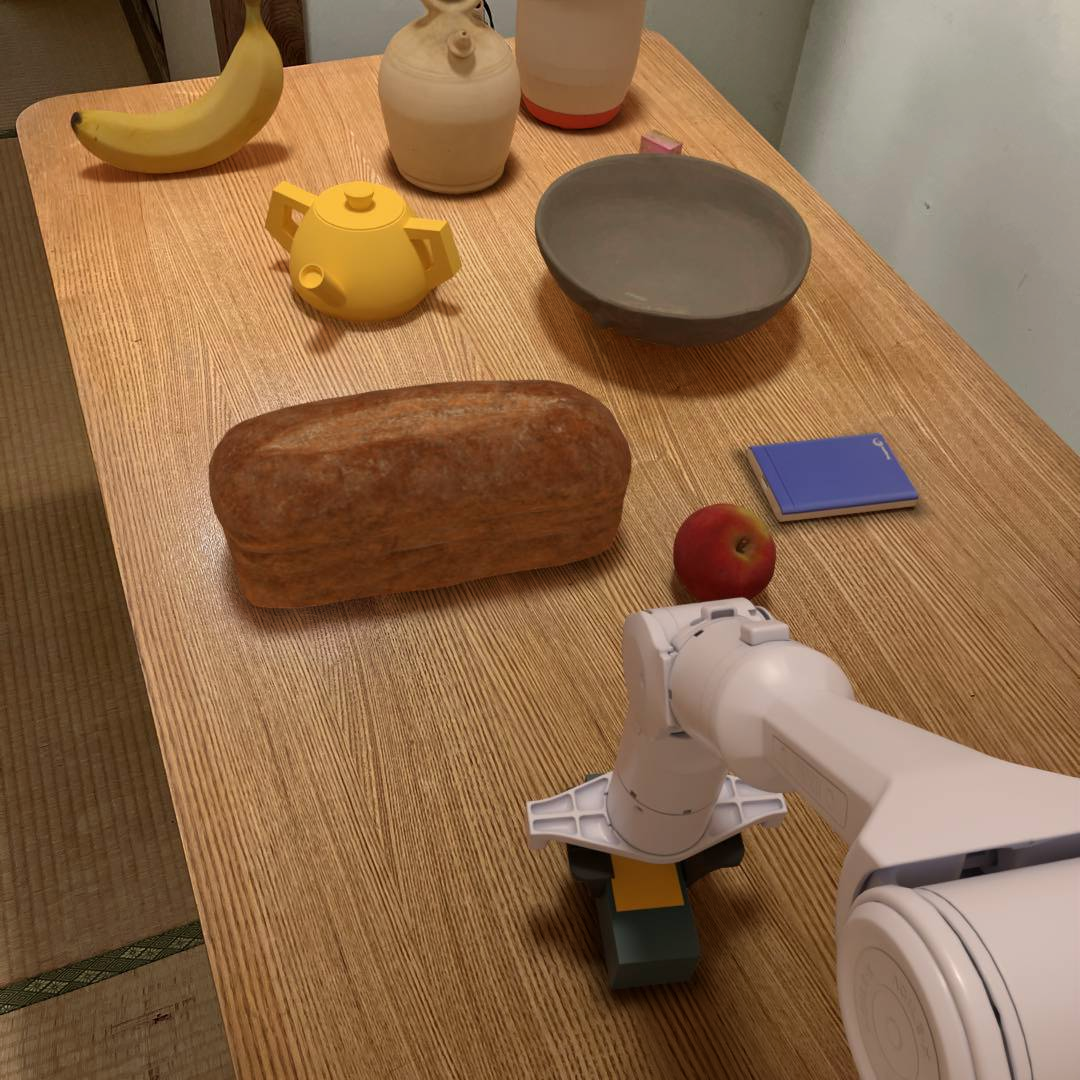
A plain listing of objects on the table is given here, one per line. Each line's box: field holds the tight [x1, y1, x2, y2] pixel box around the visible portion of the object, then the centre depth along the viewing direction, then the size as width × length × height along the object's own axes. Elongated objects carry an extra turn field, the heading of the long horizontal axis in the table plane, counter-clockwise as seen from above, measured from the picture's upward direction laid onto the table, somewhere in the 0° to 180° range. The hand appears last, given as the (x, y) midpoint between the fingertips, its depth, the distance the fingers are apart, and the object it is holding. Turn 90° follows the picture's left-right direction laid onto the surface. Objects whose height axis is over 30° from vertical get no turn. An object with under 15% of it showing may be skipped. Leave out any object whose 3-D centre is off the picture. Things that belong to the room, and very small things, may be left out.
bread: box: [208, 379, 633, 609], centre depth 81 cm, size 12×31×14 cm, turn 106°
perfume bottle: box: [638, 129, 684, 155], centre depth 123 cm, size 12×12×4 cm
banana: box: [69, 0, 285, 174], centre depth 113 cm, size 23×6×20 cm, turn 109°
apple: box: [672, 502, 777, 603], centre depth 81 cm, size 8×8×8 cm
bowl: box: [534, 152, 813, 348], centre depth 105 cm, size 26×26×10 cm
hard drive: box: [746, 432, 919, 523], centre depth 93 cm, size 2×8×12 cm
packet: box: [583, 772, 703, 990], centre depth 66 cm, size 12×5×4 cm, turn 7°
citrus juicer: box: [514, 0, 647, 130], centre depth 129 cm, size 16×17×20 cm
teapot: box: [264, 180, 463, 324], centre depth 102 cm, size 20×18×11 cm
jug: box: [377, 0, 522, 196], centre depth 115 cm, size 15×16×25 cm
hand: (635, 878), depth 66 cm, fingers closed on packet, 5 cm apart
